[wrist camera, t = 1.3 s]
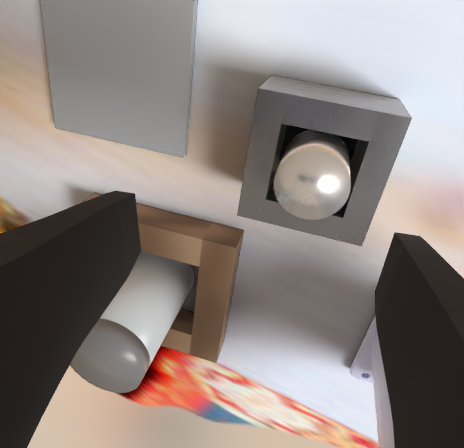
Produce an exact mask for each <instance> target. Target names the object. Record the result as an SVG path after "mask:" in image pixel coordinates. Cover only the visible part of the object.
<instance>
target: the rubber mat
mask: <svg viewBox="0 0 464 448" xmlns="http://www.w3.org/2000/svg"><path fill="white" fill-rule="evenodd" d="M197 4H198V0H40V6H41V14H42V23H43V31H44V39H45V48H46V56H47V64H48V73H49V81H50V90H51V98H52V106H53V115H54V123H55V128H56V129H61V130H65V131H69V132H74V133H78V134H82V135H87V136H91V137H95V138H100V139H104V140H108V141H113V142H117V143H121V144H126V145H130V146H134V147H139V148H143V149H147V150H152V151H156V152H161V153H165V154H169V155H174V156H178V157H182V158H184V157H185V156H186V154H187V140H188V127H189V113H190V100H191V86H192V72H193V59H194V45H195V31H196V18H197Z"/></svg>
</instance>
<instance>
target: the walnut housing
mask: <svg viewBox="0 0 464 448" xmlns="http://www.w3.org/2000/svg"><path fill="white" fill-rule="evenodd" d="M98 196H101V194H97V193H94V194H93V195H91V196H90V197H89V198H87V199H86V200H85V201H88V200H90V199H93V198H95V197H98ZM85 201H83V202H85ZM83 202H82V203H83ZM136 208H137V217H138V226H139V234H140V243H141V251H143V252H147V253H150V254H154V255H158V256H161V257H165V258H169V259H172V260H176V261H180V262H183V263H187V264H191V265H194V266H198V267H199V274H198V283H197V292H196V301H195V310H194V313H192V312H189V311H185V310H182V309H180V310H179V312H178V314H177V316H176V318H175V320H174V321H173V323H172V325H171V327H170V329H169V331H168V333H167V334H166V336H165V338H164V340H163V342H162V344H161V346H164V347H167V348H170V349H173V350H177V351H180V352H183V353H186V354H190V355H193V356H196V357H199V358H202V359H206V360H209V361H212V362H215V363H216V362H217V359H218V356H219V354H220V351H221V348H222V345H223V342H224V338H225V332H226V327H227V321H228V316H229V310H230V305H231V299H232V293H233V288H234V282H235V277H236V271H237V266H238V260H239V255H240V249H241V244H242V238H243V233H244V231H243V230H239V229H235V228H231V227H227V226H224V225H220V224H216V223H212V222H208V221H204V220H200V219H196V218H192V217H188V216H184V215H180V214H176V213H172V212H168V211H164V210H161V209H157V208H153V207H149V206H145V205H141V204H137V203H136Z"/></svg>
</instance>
